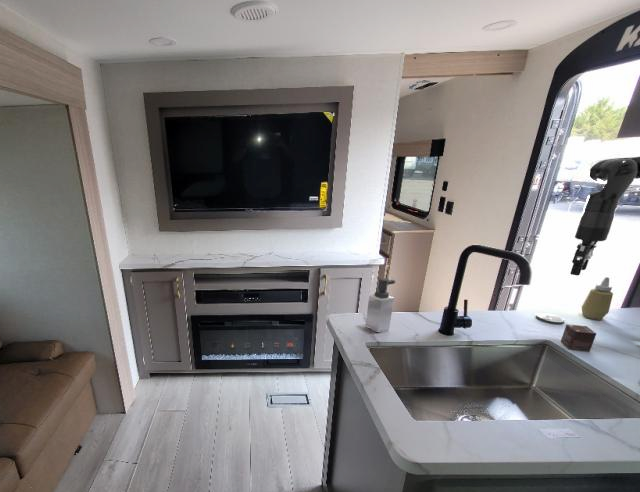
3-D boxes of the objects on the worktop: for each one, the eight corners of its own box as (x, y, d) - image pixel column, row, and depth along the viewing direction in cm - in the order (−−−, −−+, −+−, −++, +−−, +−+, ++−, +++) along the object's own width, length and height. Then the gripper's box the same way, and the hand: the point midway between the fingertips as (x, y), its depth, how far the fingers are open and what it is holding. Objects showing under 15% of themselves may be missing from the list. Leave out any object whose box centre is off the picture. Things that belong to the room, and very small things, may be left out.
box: (590, 352, 115) (597, 333, 113) (568, 349, 117) (575, 331, 115) (580, 343, 121) (587, 325, 118) (559, 341, 123) (566, 323, 120)
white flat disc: (558, 316, 141) (559, 314, 140) (567, 326, 133) (568, 323, 133) (532, 313, 144) (533, 311, 144) (539, 322, 137) (540, 319, 136)
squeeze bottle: (610, 322, 135) (627, 281, 128) (585, 320, 137) (601, 280, 131) (597, 314, 142) (613, 275, 135) (574, 312, 144) (588, 273, 138)
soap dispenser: (393, 328, 135) (400, 279, 128) (377, 333, 132) (383, 283, 124) (381, 322, 141) (387, 274, 133) (365, 326, 138) (371, 278, 130)
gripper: (606, 229, 99) (588, 279, 104) (615, 223, 106) (597, 270, 112) (572, 226, 104) (557, 274, 110) (583, 220, 112) (568, 265, 118)
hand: (577, 272), depth 111 cm, fingers open, 8 cm apart
